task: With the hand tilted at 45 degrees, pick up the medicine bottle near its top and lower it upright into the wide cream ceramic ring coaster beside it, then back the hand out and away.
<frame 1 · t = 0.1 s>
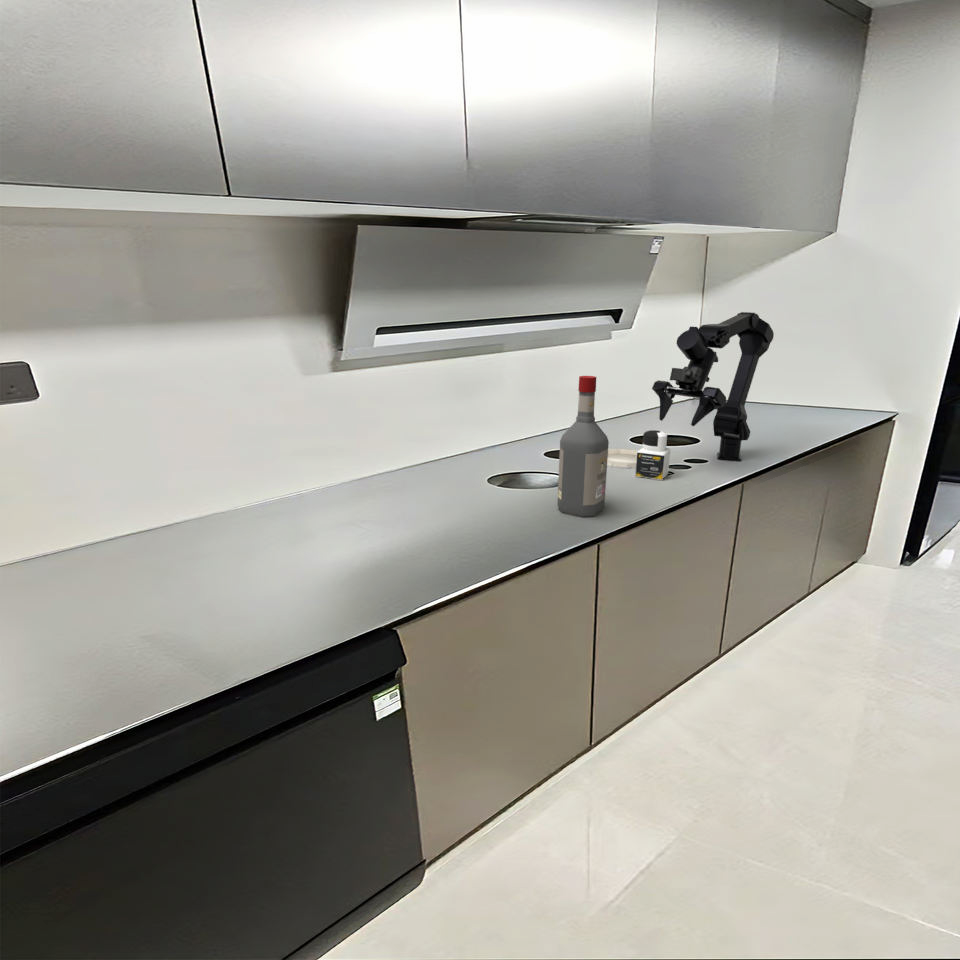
hand: (676, 422, 171), 15 cm above the worktop, tool tilted 35°, fingers open, 9 cm apart
liquor: (580, 510, 150), on the worktop
medicine bottle: (651, 476, 177), on the worktop
coaster: (623, 460, 191), on the worktop
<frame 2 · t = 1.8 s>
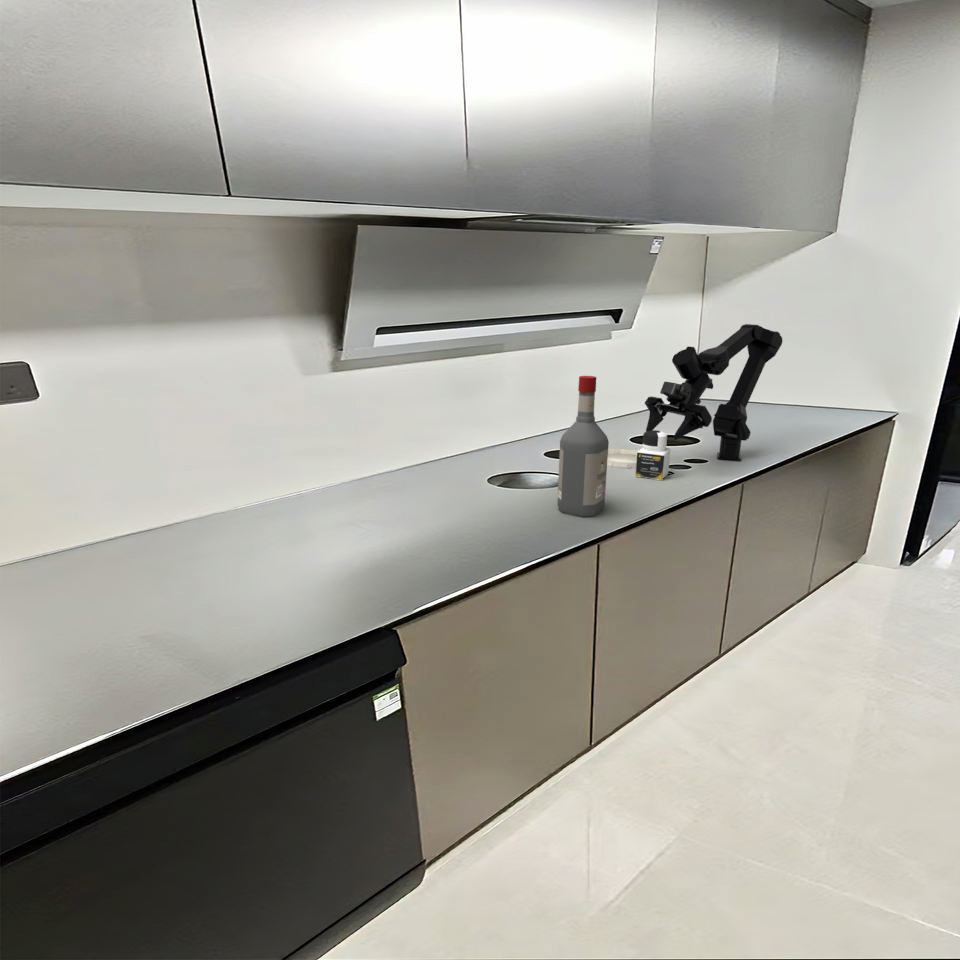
hand: (660, 435, 175), 11 cm above the worktop, tool tilted 45°, fingers open, 9 cm apart
nothing on the worktop moved.
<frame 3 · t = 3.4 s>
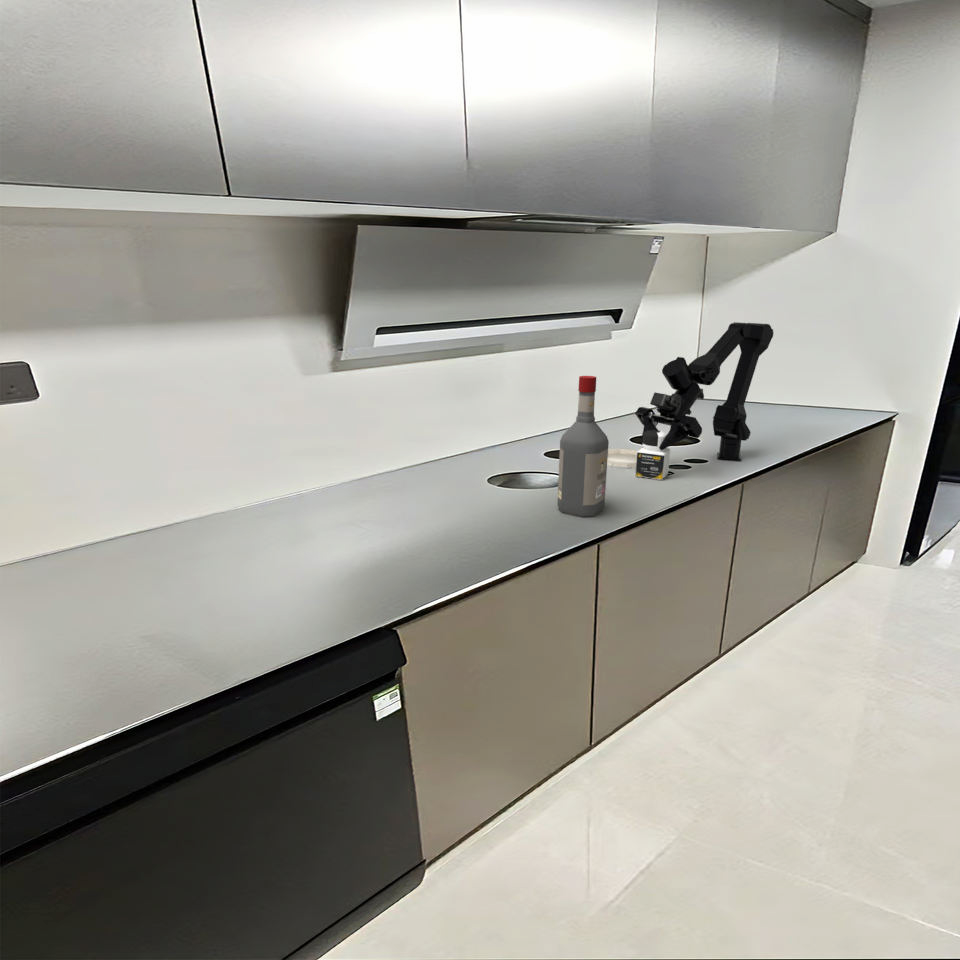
hand: (650, 446, 174), 8 cm above the worktop, tool tilted 45°, fingers closed on medicine bottle, 6 cm apart
medicine bottle: (651, 476, 177), on the worktop, touching gripper
everything else where it was.
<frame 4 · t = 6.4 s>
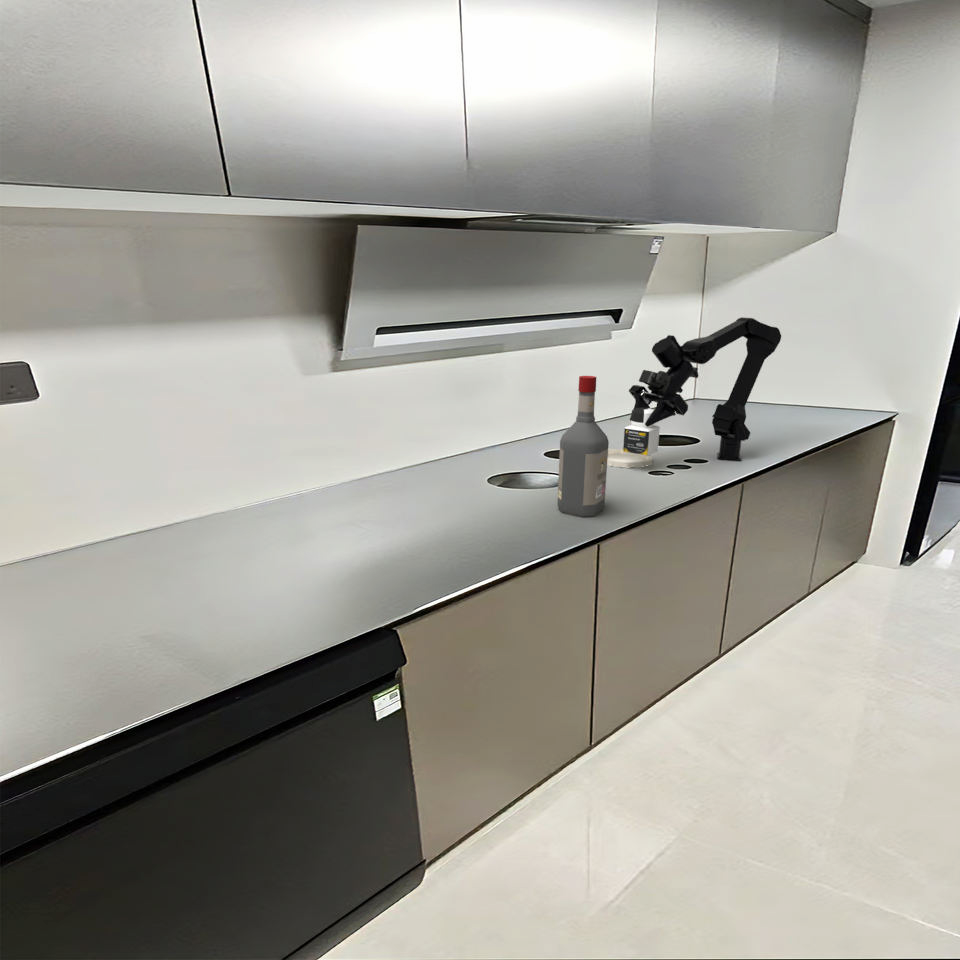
hand: (638, 423, 178), 13 cm above the worktop, tool tilted 45°, fingers closed on medicine bottle, 6 cm apart
medicine bottle: (640, 452, 180), point 5 cm above the worktop, touching gripper
everything else where it was.
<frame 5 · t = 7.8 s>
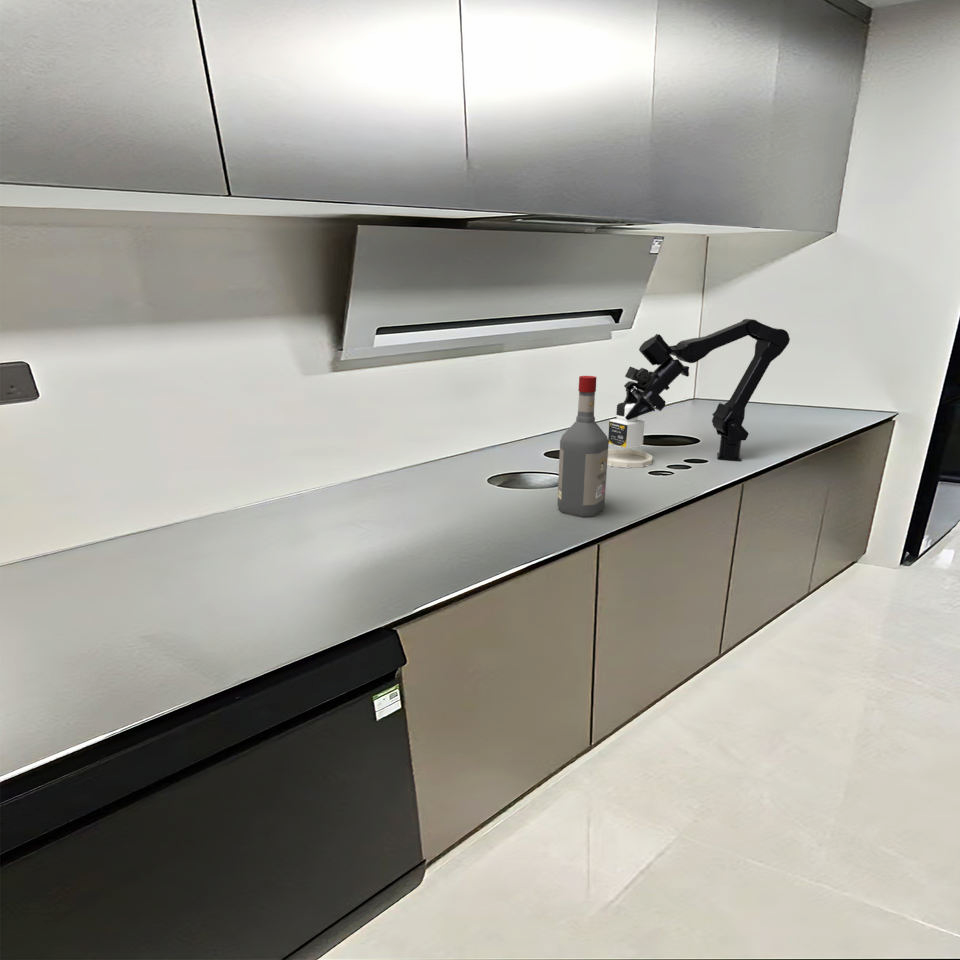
hand: (622, 416, 188), 13 cm above the worktop, tool tilted 45°, fingers closed on medicine bottle, 6 cm apart
medicine bottle: (625, 445, 190), point 5 cm above the worktop, touching gripper
everything else where it was.
when the fingers open (9 cm above the worktop, at t = 9.3 s): medicine bottle stays where it is, resting on coaster.
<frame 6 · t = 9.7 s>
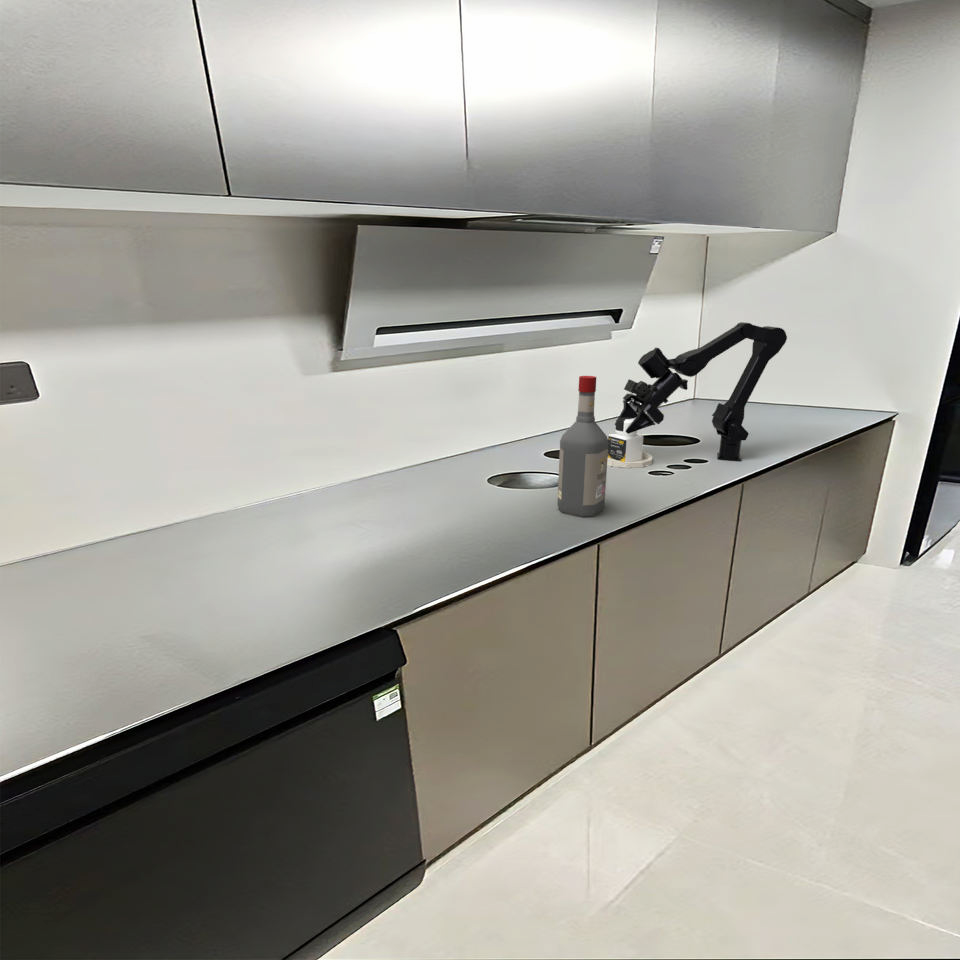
hand: (621, 429, 189), 9 cm above the worktop, tool tilted 45°, fingers open, 9 cm apart
medicine bottle: (624, 460, 191), resting on coaster
everything else where it was.
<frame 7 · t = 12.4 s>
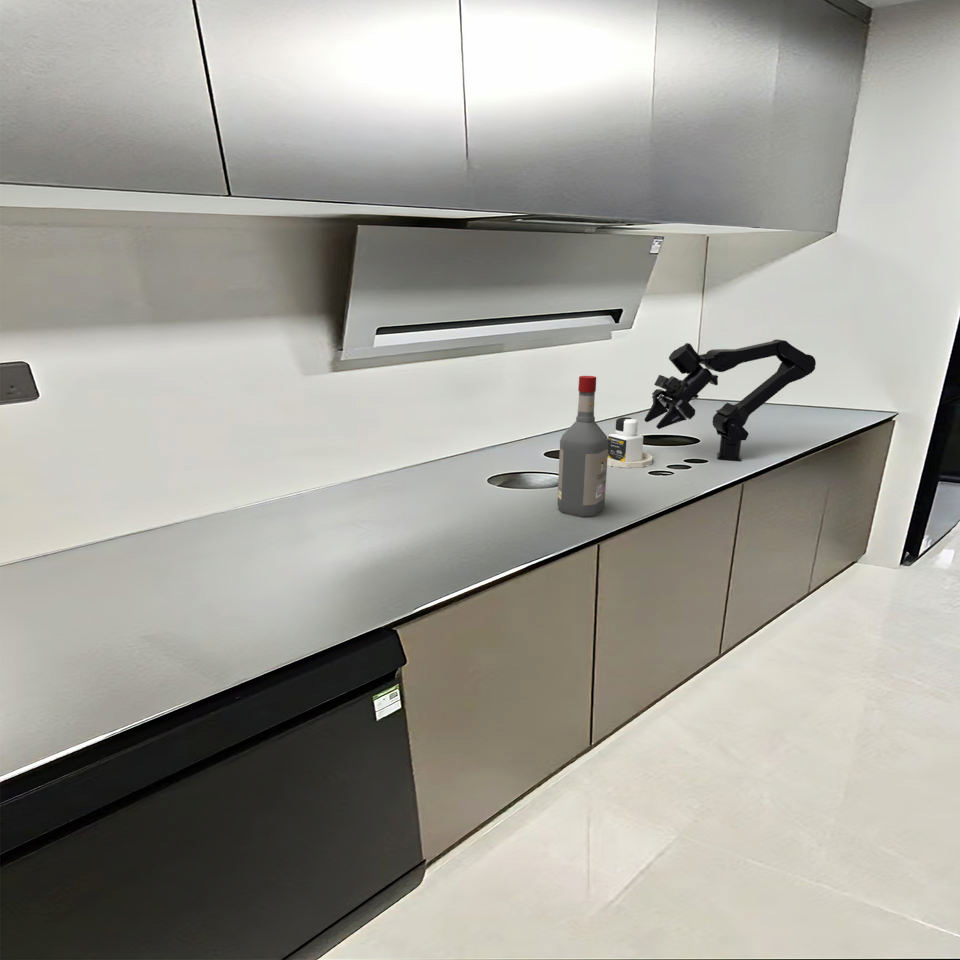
hand: (651, 424, 189), 11 cm above the worktop, tool tilted 45°, fingers open, 9 cm apart
nothing on the worktop moved.
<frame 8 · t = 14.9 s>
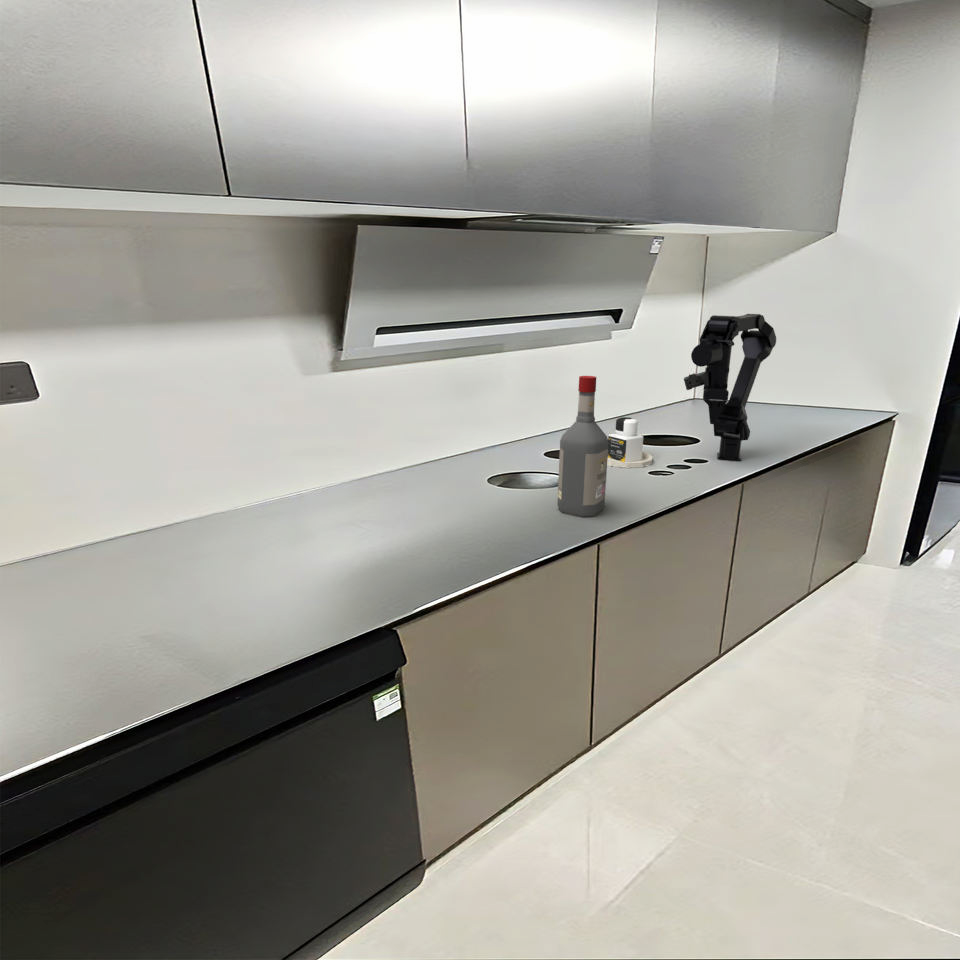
hand: (712, 420, 183), 13 cm above the worktop, tool pointing down, fingers open, 9 cm apart
nothing on the worktop moved.
at the end: medicine bottle 0.2 cm from the coaster (horizontally); medicine bottle tilted 0°; the gripper is holding nothing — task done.
